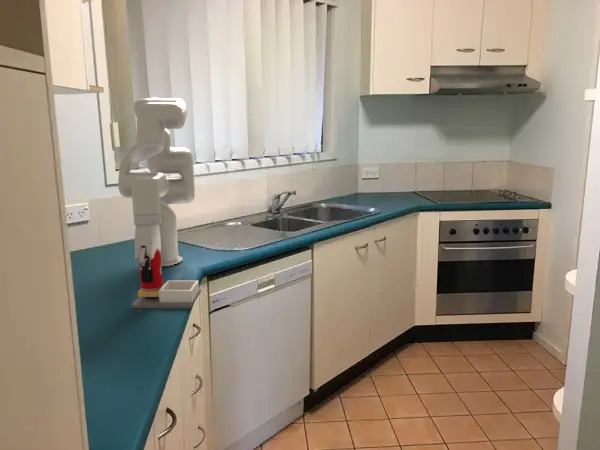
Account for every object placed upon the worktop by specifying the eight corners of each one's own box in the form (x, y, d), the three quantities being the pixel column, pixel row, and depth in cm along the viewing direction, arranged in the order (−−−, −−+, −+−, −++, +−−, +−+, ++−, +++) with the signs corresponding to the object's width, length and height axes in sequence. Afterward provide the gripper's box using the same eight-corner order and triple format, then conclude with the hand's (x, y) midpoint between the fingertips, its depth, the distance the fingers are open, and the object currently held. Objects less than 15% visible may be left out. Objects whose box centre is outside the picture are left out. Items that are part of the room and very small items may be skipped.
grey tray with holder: (147, 291, 158) (146, 277, 157) (200, 291, 158) (200, 278, 157) (132, 308, 144) (130, 293, 143) (190, 308, 144) (189, 293, 143)
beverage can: (165, 284, 154) (162, 246, 151) (160, 291, 147) (157, 251, 145) (144, 284, 153) (141, 246, 151) (138, 291, 147) (135, 252, 145)
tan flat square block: (145, 292, 154) (144, 285, 153) (166, 292, 154) (165, 285, 153) (138, 300, 148) (137, 292, 147) (160, 300, 148) (159, 292, 147)
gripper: (144, 213, 154) (147, 269, 158) (123, 225, 138) (128, 288, 141) (168, 213, 154) (171, 269, 158) (151, 225, 137) (155, 288, 141)
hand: (151, 278), depth 150 cm, fingers closed on beverage can, 6 cm apart
